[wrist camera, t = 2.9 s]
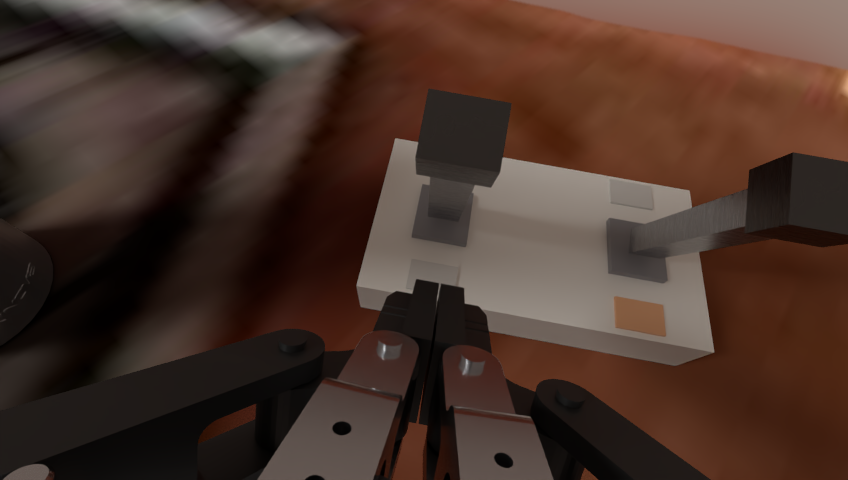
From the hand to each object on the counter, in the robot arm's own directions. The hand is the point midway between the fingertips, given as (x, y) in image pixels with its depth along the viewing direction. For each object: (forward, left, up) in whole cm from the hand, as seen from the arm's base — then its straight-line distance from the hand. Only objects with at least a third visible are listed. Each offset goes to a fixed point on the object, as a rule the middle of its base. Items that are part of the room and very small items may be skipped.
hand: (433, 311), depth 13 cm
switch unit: (+6, +11, -16) cm, 20 cm away
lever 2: (+13, +11, -11) cm, 20 cm away
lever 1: (0, +11, -11) cm, 15 cm away
